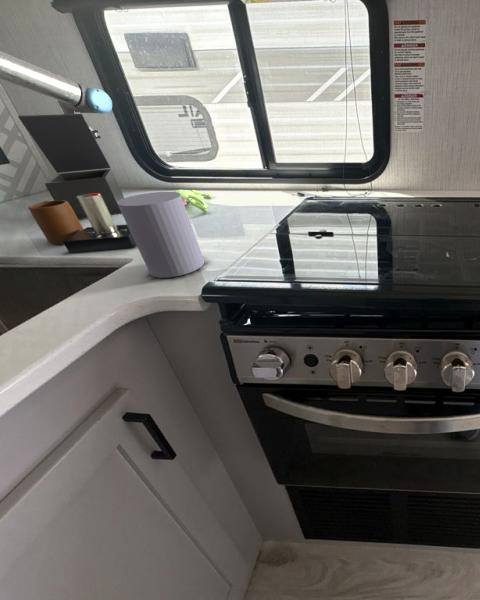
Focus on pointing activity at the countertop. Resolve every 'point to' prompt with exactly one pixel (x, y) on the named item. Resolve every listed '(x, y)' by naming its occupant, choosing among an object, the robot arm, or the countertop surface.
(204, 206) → the figurine
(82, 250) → the panel
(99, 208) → the cream silver cylinder
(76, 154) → the lid
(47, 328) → the countertop surface
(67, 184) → the dark grey box
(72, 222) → the mug
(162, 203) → the container
